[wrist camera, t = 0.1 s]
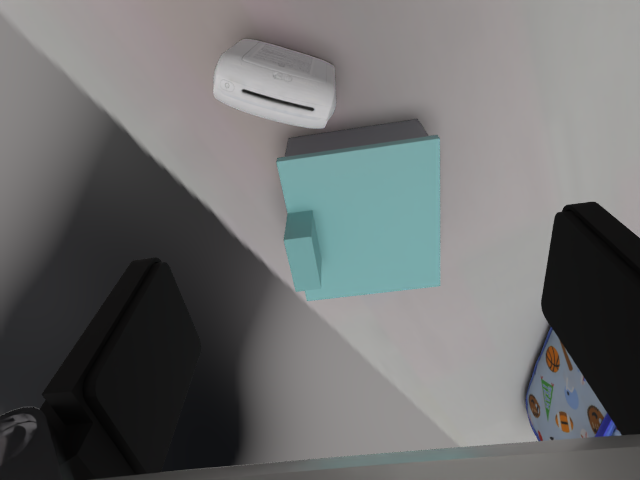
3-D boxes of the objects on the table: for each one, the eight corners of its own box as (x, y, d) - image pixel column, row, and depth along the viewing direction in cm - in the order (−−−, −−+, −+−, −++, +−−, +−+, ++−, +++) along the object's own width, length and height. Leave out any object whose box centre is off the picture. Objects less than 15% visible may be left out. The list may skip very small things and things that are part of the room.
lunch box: (552, 276, 56) (666, 427, 37) (632, 273, 56) (788, 423, 37) (514, 407, 71) (582, 562, 52) (577, 405, 70) (669, 561, 52)
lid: (278, 152, 41) (270, 184, 35) (433, 129, 40) (454, 158, 34) (307, 287, 50) (305, 332, 44) (435, 272, 49) (451, 316, 43)
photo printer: (231, 77, 43) (201, 110, 32) (238, 31, 41) (208, 51, 30) (328, 104, 44) (330, 144, 34) (340, 62, 42) (345, 91, 32)
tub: (288, 138, 46) (283, 162, 40) (417, 118, 45) (431, 140, 39) (312, 257, 55) (310, 291, 49) (421, 243, 53) (433, 277, 47)
